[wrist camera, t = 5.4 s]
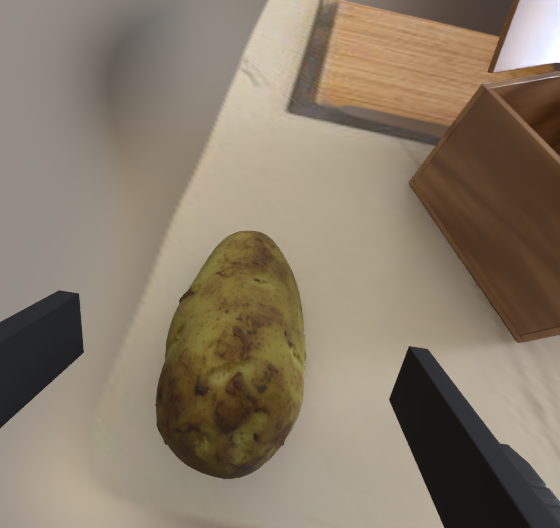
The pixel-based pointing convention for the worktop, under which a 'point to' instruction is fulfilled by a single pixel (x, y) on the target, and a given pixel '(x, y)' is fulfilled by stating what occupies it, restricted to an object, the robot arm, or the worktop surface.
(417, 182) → the wooden box
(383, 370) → the worktop surface
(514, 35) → the flap
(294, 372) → the potato
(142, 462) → the worktop surface
